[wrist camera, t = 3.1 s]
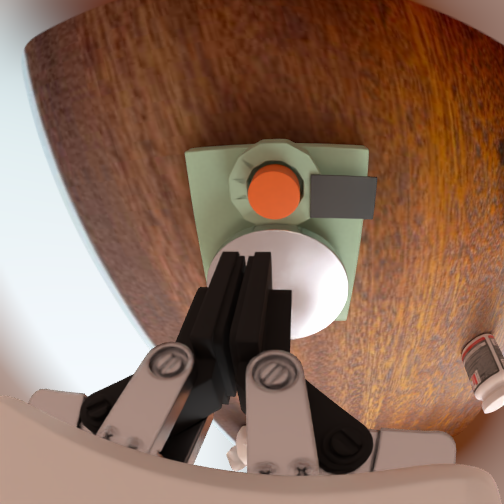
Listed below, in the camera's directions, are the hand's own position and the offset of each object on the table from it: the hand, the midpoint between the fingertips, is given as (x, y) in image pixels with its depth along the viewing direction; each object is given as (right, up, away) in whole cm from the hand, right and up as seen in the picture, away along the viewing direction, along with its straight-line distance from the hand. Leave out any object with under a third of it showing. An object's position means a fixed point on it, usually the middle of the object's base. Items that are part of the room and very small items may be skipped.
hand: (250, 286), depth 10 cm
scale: (+2, +2, +13) cm, 14 cm away
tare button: (+2, +6, +8) cm, 10 cm away
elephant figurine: (+2, -32, +36) cm, 48 cm away
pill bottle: (+31, -12, +18) cm, 38 cm away
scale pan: (+3, 0, +11) cm, 11 cm away
